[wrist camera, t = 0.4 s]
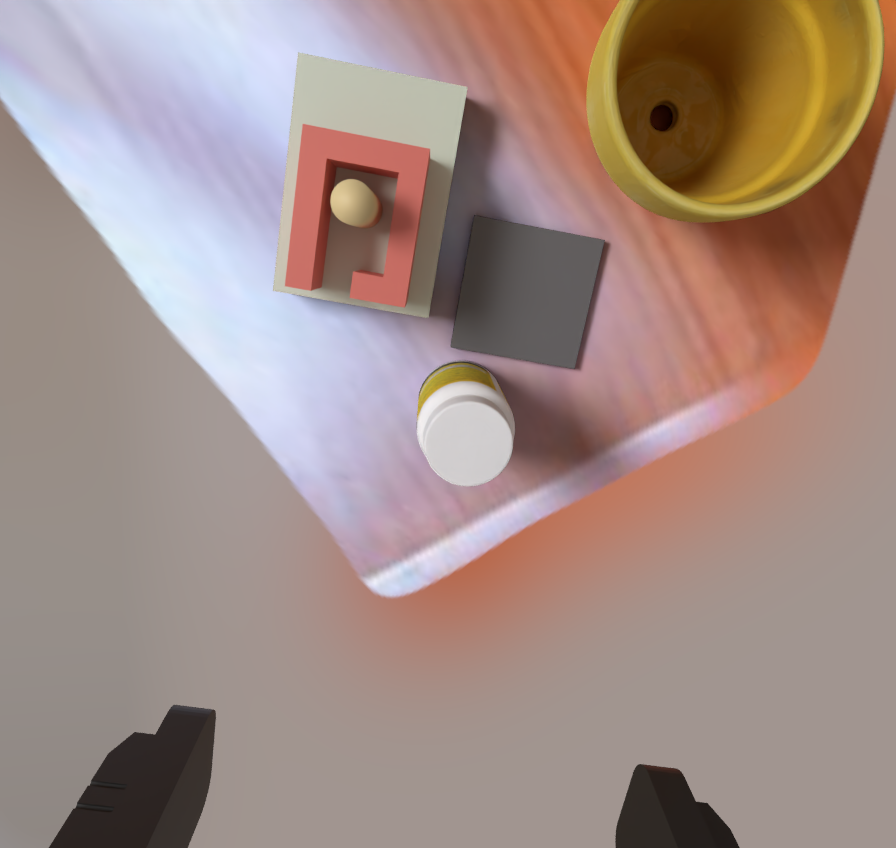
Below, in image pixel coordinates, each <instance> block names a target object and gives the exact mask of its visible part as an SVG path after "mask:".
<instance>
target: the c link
mask: <svg viewBox="0 0 896 848" xmlns="http://www.w3.org/2000/svg"><path fill="white" fill-rule="evenodd" d="M429 163H430V149H429V148H423V147H418V146H413V145H408V144H403V143H398V142H393V141H388V140H383V139H378V138H373V137H368V136H363V135H357V134H352V133H347V132H342V131H337V130H332V129H327V128H322V127H317V126H312V125H307V124H303V125H302V134H301V143H300V152H299V161H298V170H297V179H296V189H295V198H294V207H293V216H292V225H291V234H290V243H289V252H288V261H287V270H286V279H285V286H286V287H292V288H297V289H303V290H309V291H312V290H315V289H318V288H321V287H322V280H323V272H324V264H325V256H326V248H327V240H328V232H329V224H330V216H331V203H330V199H331V194H332V191H333V189H334V184H335V176H336V168H337V167H339V168H344V169H350V170H355V171H360V172H365V173H370V174H376V175H381V176H386V177H391V178H396V179H398V181H397V188H396V194H395V201H394V208H393V214H392V221H391V228H390V235H389V241H388V248H387V255H386V261H385V268H384V274H381V273H375V272H370V271H364V270H357V271H354V272H353V275H352V283H351V290H350V297H349V298H353V299H359V300H364V301H370V302H376V303H381V304H387V305H392V306H398V307H404V308H405V306H406V304H407V301H408V294H409V288H410V282H411V276H412V269H413V263H414V257H415V251H416V244H417V238H418V232H419V226H420V219H421V213H422V207H423V201H424V194H425V188H426V182H427V176H428V170H429Z"/></svg>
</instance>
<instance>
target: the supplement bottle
mask: <svg viewBox="0 0 896 848" xmlns="http://www.w3.org/2000/svg"><path fill="white" fill-rule="evenodd" d="M416 428H417V437H418V441H419V444H420V447H421V449H422V451H423V453H424V454H425V456H426V458H427V461H428V463H429V465H430V466H431V468H432V469H433V470H434V472H435V473H436V474H437V475H439V476H440V477H441V478H442V479H444V480H446V481H447V482H449V483H452V484H455V485H459V486H477V485H481V484H484V483H487V482H489V481H490V480H492V479H494V478H495V477H496V476H498V475H499V474H500V473H501V472H502V471H503V470H504V468H505V467H506V465H507V464H508V462H509V460H510V457H511V455H512V450H513V441H514V436H515V422H514V416H513V413H512V410H511V408H510V406H509V404H508V402H507V400H506V398H505V396H504V394H503V392H502V390H501V388H500V386H499V383H498V382H497V380H496V379H495V377H494V376H493V375H492V374H491V373H490V372H489V371H488V370H487V369H485V368H484V367H482V366H480V365H478V364H476V363H474V362H470V361H462V360H459V361H452V362H448V363H445V364H443V365H441V366H439V367H437V368H436V369H435V370H433V371H432V372H431V373H430V374H429V375H428V377H427V378H426V379H425V381H424V383H423V384H422V387H421V390H420V392H419V400H418V413H417V427H416Z"/></svg>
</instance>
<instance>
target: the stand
mask: <svg viewBox="0 0 896 848" xmlns="http://www.w3.org/2000/svg"><path fill="white" fill-rule="evenodd" d="M466 93H467V87H464V86H459V85H454V84H450V83H445V82H440V81H435V80H430V79H425V78H420V77H415V76H410V75H406V74H401V73H396V72H391V71H386V70H381V69H376V68H371V67H367V66H362V65H357V64H352V63H347V62H342V61H337V60H332V59H327V58H323V57H318V56H313V55H308V54H303V53H298V59H297V68H296V78H295V87H294V97H293V106H292V116H291V125H290V135H289V144H288V153H287V163H286V172H285V182H284V191H283V201H282V210H281V220H280V229H279V239H278V248H277V257H276V267H275V276H274V286H273V291H278V292H283V293H289V294H294V295H300V296H306V297H311V298H317V299H323V300H328V301H334V302H339V303H345V304H351V305H356V306H362V307H367V308H373V309H379V310H384V311H390V312H395V313H401V314H407V315H412V316H418V317H424V318H428V317H429V311H430V305H431V299H432V293H433V287H434V282H435V276H436V270H437V264H438V258H439V252H440V246H441V240H442V234H443V229H444V223H445V217H446V211H447V205H448V199H449V193H450V187H451V182H452V176H453V170H454V164H455V158H456V152H457V146H458V140H459V134H460V129H461V123H462V117H463V111H464V105H465V99H466ZM303 124H307V125H312V126H317V127H322V128H327V129H332V130H337V131H342V132H347V133H352V134H357V135H363V136H368V137H373V138H378V139H383V140H388V141H393V142H398V143H403V144H408V145H413V146H418V147H423V148H429V149H430V163H429V170H428V176H427V182H426V188H425V194H424V201H423V207H422V213H421V219H420V226H419V232H418V238H417V244H416V251H415V257H414V263H413V269H412V276H411V282H410V288H409V294H408V301H407V304H406V306H405V308H404V307H398V306H392V305H387V304H381V303H376V302H370V301H364V300H359V299H353V298H349V297H350V290H351V283H352V275H353V272H354V271H357V270H364V271H370V272H375V273H381V274H384V268H385V261H386V255H387V248H388V241H389V235H390V228H391V221H392V214H393V208H394V201H395V194H396V188H397V181H398V179H396V178H391V177H386V176H381V175H376V174H370V173H365V172H360V171H355V170H350V169H344V168H339V167H337V168H336V176H335V184H334V189H333V191H332V194H331V199H330V203H331V216H330V224H329V232H328V240H327V248H326V256H325V264H324V272H323V280H322V287H321V288H318V289H315V290H312V291H309V290H303V289H297V288H292V287H286V286H285V279H286V270H287V261H288V252H289V243H290V234H291V225H292V216H293V207H294V198H295V189H296V179H297V170H298V161H299V152H300V143H301V134H302V125H303Z"/></svg>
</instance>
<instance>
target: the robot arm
mask: <svg viewBox="0 0 896 848" xmlns="http://www.w3.org/2000/svg"><path fill="white" fill-rule="evenodd" d="M215 720H216V713H215V710H211V709H204V708H196V707H187V706H180V705H173V706H172V707H171V709H170V710H169V711H168V713H167V715H166V717H165V718H164V720H163V722H162V724H161V726H160V727H159V729H158V731H157V733H156V734H155V735H153V734H145V733H137V732H134V733H133V734H132V735H131V736H130V737H128V738H127V739H126V740H125V741H123V742H122V743H121V744H120V745H118V746H117V747H116V748H115V749H114V750H112V751H111V752H110V753H109V754H108V755H107V757H106V758H105V760H104V761H103V763H102V765H101V766H100V768H99V769H98V771H97V773H96V774H95V776H94V777H93V779H92V780H91V784H90V786H88V787H87V788H86V790H85V791H84V793H83V795H82V796H81V798H80V799H79V801H78V802H77V806H76V808H75V809H73V810H72V812H71V814H70V815H69V817H68V818H67V820H66V821H65V823H64V825H63V826H62V828H61V829H60V831H59V832H58V834H57V836H56V837H55V839H54V841H53V842H52V844H51V845H50V847H49V848H188V845H189V843H190V841H191V838H192V836H193V833H194V831H195V828H196V826H197V823H198V821H199V818H200V816H201V813H202V810H203V807H204V804H205V801H206V797H207V793H208V789H209V784H210V778H211V770H212V757H213V745H214V732H215ZM616 848H739V846H738V844H737V842H736V840H735V838H734V836H733V834H732V832H731V830H730V828H729V827H728V826H727V825H726V824H725V823H724V821H723V820H722V819H721V818H720V817H719V816H718V815H717V814H716V813H715V811H714V810H713V809H712V808H711V807H710V806H709V805H708V803H702V802H696V801H695V799H694V797H693V795H692V792H691V790H690V788H689V786H688V784H687V782H686V780H685V777H684V776H683V774H682V772H681V771H680V770H678V769H675V768H666V767H657V766H651V765H642V764H639V765H637V766H636V768H635V770H634V772H633V776H632V778H631V782H630V785H629V788H628V791H627V794H626V798H625V801H624V804H623V807H622V810H621V814H620V817H619V820H618V823H617V828H616Z"/></svg>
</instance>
